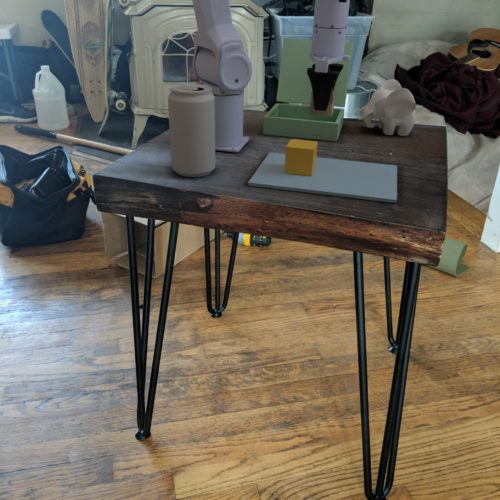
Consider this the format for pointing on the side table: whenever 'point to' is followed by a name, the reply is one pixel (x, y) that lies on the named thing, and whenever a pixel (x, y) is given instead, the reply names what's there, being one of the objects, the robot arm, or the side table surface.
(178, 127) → the beverage can
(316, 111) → the birch block
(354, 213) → the side table surface
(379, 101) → the elephant figurine
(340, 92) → the lunchbox lid
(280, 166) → the placemat
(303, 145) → the mustard block
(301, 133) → the box
